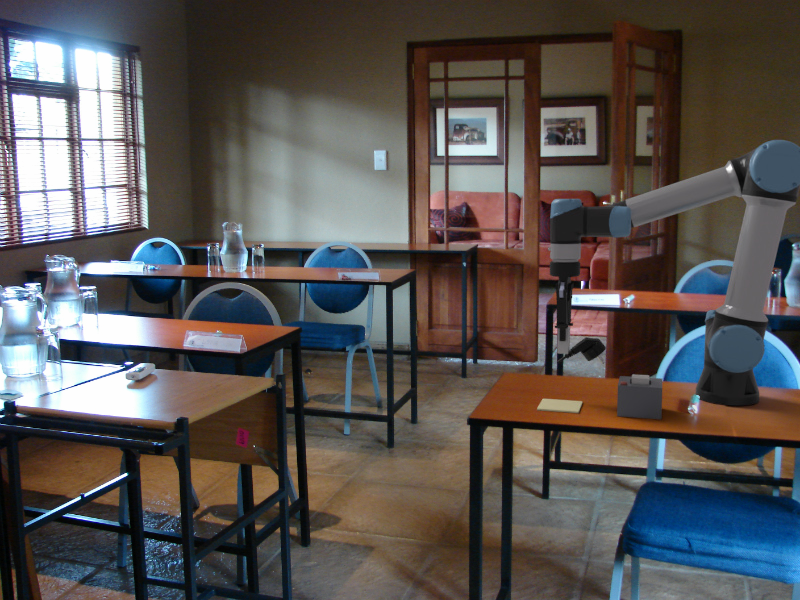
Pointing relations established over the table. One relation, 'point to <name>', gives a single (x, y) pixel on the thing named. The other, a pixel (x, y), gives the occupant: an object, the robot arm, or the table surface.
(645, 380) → the button
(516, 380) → the table surface
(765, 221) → the robot arm
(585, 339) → the power plug
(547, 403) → the pad
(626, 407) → the switch box
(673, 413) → the table surface
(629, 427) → the table surface
